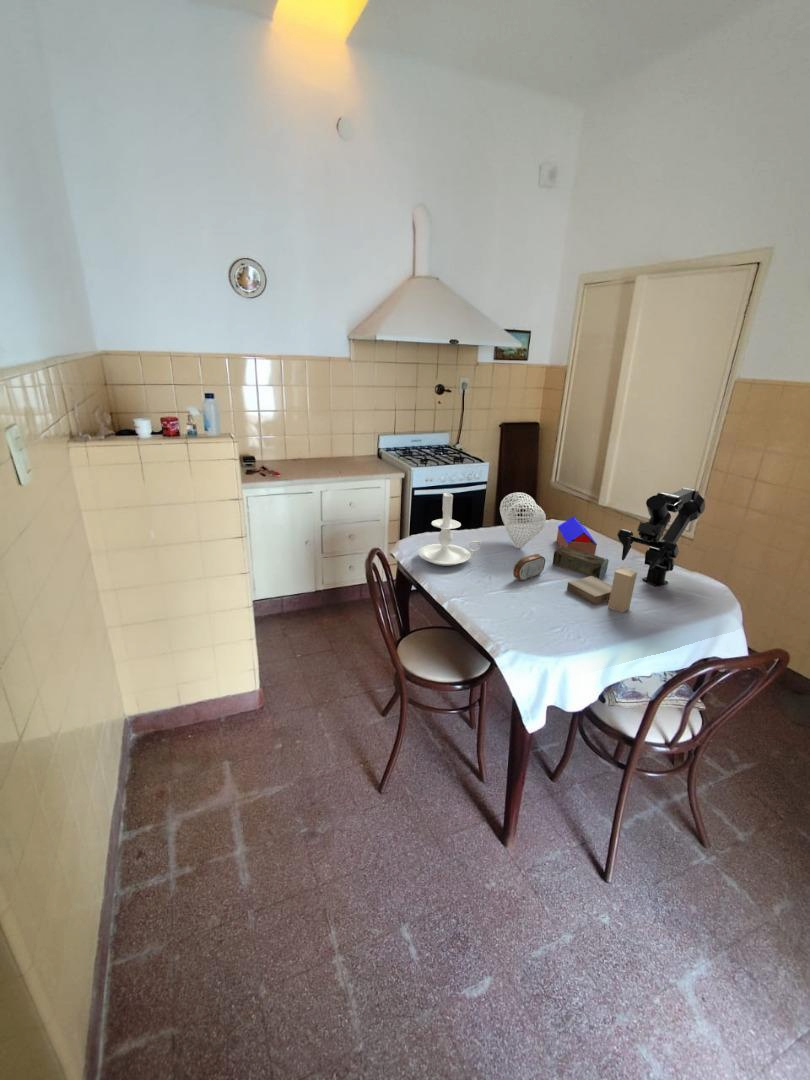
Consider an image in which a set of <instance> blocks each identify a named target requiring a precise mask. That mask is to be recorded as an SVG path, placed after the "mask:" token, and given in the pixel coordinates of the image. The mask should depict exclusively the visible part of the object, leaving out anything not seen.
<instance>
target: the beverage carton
mask: <svg viewBox="0 0 810 1080" xmlns="http://www.w3.org/2000/svg"><path fill="white" fill-rule="evenodd" d="M609 561H610V560H609V559H608V558H605V557H601V556H598V555H596V554H595V555H592V554H589V553H585V552H582V551H578V550H575V549H572V548H568V547H564V546H562V547H560V546H559V548H557V549H556V550H555V551H553V557H552V565H553V566H556V567H560V568H562V569H566V570H569V571H572V572H576V573H579V574H582V575H585V576H587V577H589V576H593V577H595V578H597V579H599V580H601V578H602V577H603V576H604V575H605V574H606V573H607V571H608V567H609Z"/></svg>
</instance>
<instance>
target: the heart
mask: <svg viewBox="0 0 810 1080" xmlns="http://www.w3.org/2000/svg"><path fill="white" fill-rule="evenodd" d="M521 510H522V511H521ZM524 510H525V511H524ZM499 513H500V514H499V515H500V516H501V521H502V522H503V525H504V527H505V530H506V532H507V534H508V537H509V538H510V540H511V542H512V544H513V546H514V547H515V549H522V548H523V547H525V546H526V545H527V544H528V543H529V542H530V541H531V540H533V539H534V538H536V536H537V535H539V534H540V533H541V531H542V530H543V529H544V527H545V524H546V519H547V517H546V513H545V511H544V510H543V509H542V507H541V506H539V505H538V504H537V503H536V500H535V499H534V498H533V497H532V496H531V495H529V494H527V493H526V492H513V493H509V494H507V495H505V496H504V497H503V499H502V500H501V502H500V506H499ZM518 514H519V516H518ZM521 515H522V516H521ZM518 546H519V547H518Z"/></svg>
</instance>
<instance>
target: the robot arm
mask: <svg viewBox="0 0 810 1080" xmlns="http://www.w3.org/2000/svg"><path fill="white" fill-rule="evenodd" d="M705 502H706V501H705V499H704V498H703V496H701V495H700V493H699V490H697V488H696V489H695V488H690V487H682V488H681V489H680V490H677V491H674V492H672V493H671V492H664V491H663V492H657V494H655V495H652V496H650V497H649V498H647V499H646V501H645V506H646V509H647V512H648V515H649V517H650V518H649V519H648V521H646V522H643V521H640V522H639V524H638V528H637V529H636V532H638V533H637V534H638V536H637V535H634V533H633V531H632V530H630V529H629V530H628V529H624V528H621V529H620V530H618V531H617V534H616V535H617V538H618V540H619V542H620V543H621V545H622V551H621V552H622V553H621V560H622V561H624V560H625V559H626V557H627V556H628V554H629V552H630V550H631V548H632V544H633V543H637V544H639V545H640V544H641V545H643V546H647V547H649V548H648V549H646V551H645V554H644V565H648V566H649V567H648V570H647V573H646V576H645V577H643V578H641V579H642V581H644V582H646V583H648V584H650V585H653V586H655V587H660V586H663V585H665V584H669V581H668V580H666V575H667V572H673V570H674V568H675V564H676V563H675V562H676V561H675V559H677V557H678V555H679V546H678V544H677V542H678V541H679V539H680V538H681V536H682V534H683V533H684V531H685V530H686V529H687V527H688V526H689V523H690V522H693V521H695V520H697V519H698V518H699V517H700V516H701V515H702V514H703V513H704V511H705V509H706V503H705ZM670 512H671V513H675V514H676V513H677V515H676V517H675V519H674V520H673V521H672V523H671V524H670V525H669V523H670V522H671V519H672V515H671V513H670ZM668 525H669V528H668V529H667V530H666V528H667V526H668ZM665 530H666V532H665Z"/></svg>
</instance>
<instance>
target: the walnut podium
mask: <svg viewBox="0 0 810 1080" xmlns="http://www.w3.org/2000/svg"><path fill="white" fill-rule="evenodd" d="M611 589H612V584H610V583H608V582H605V581H603V580H601V579H598V578H595V577H593V576H586V577H582V578H578V579H576V580H571V581H568V582H567V587H566V590H567V591H568V592H570V593H572V594H573V595H575V596H578V597H579V598H581V599H582V600H585V601H586V602H589V603H590V604H592V605H594V606H595V605H597V604H601V603H604V602H607V601H609V599H610V594H611Z"/></svg>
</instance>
